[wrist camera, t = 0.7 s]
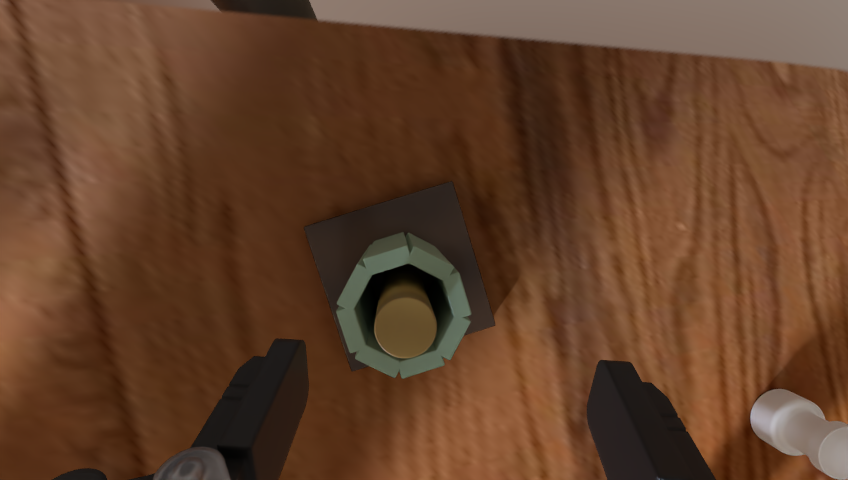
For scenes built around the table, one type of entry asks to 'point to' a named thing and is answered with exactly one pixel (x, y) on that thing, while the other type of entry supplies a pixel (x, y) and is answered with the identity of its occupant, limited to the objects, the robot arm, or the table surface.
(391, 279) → the ring stand
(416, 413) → the table surface
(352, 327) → the octagonal pen holder
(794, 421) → the decorative finial
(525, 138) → the table surface
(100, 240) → the table surface
